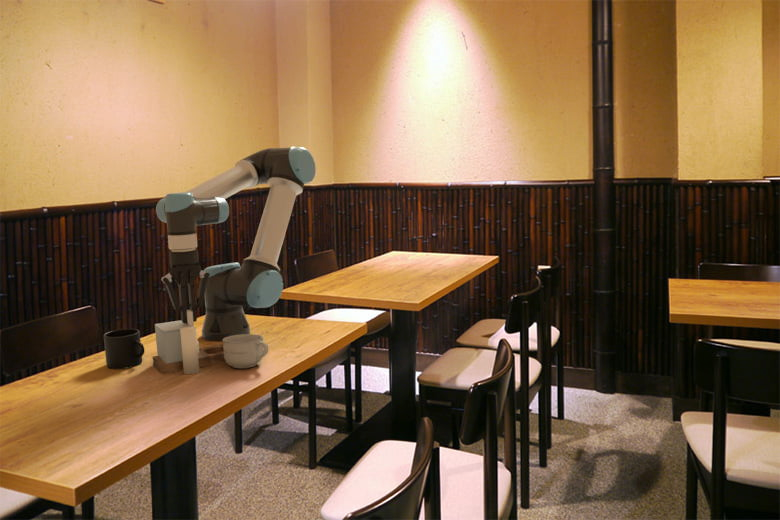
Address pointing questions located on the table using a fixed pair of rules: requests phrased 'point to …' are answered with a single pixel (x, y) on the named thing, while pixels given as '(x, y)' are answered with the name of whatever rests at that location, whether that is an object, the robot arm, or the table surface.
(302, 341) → the table surface
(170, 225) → the robot arm
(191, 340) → the pin
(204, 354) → the wooden tray
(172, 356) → the cover
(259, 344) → the teacup
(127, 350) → the mug
